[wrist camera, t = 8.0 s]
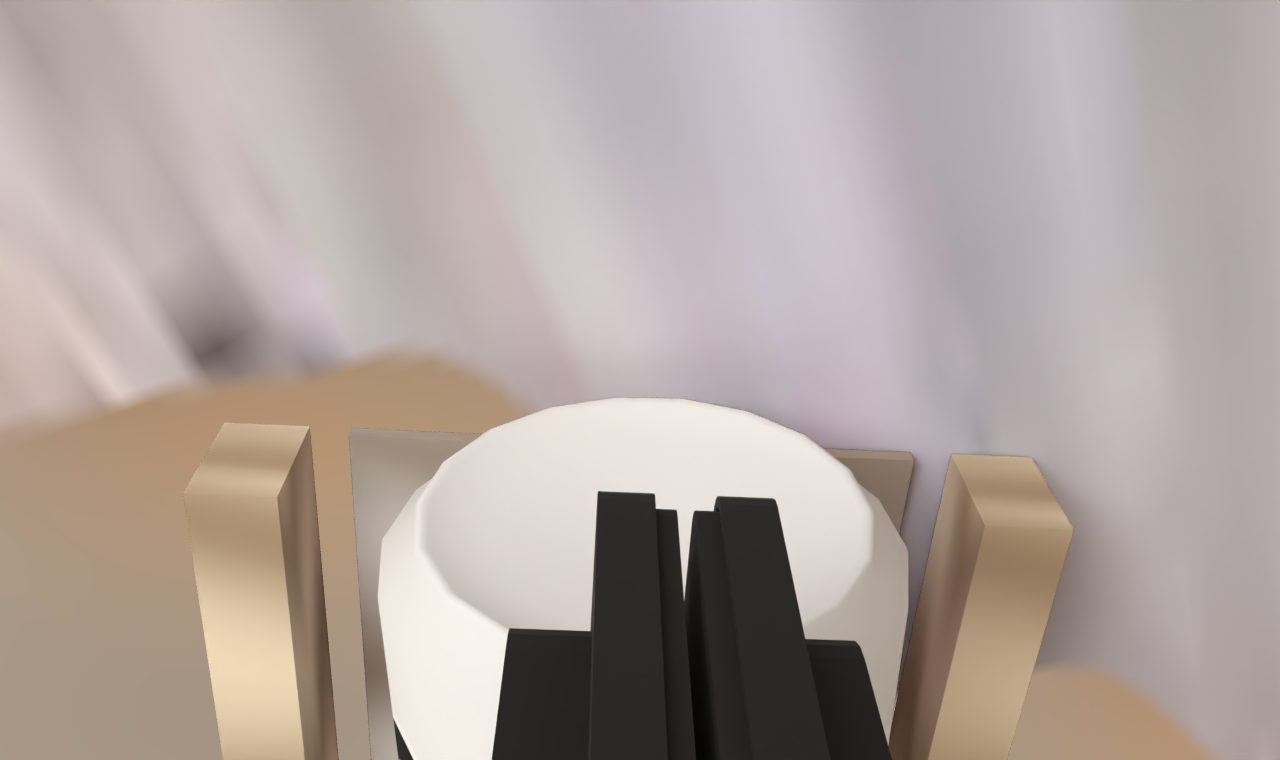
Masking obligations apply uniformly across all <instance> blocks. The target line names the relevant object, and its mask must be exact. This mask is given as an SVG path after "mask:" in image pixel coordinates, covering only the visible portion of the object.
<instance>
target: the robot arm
mask: <svg viewBox="0 0 1280 760" xmlns="http://www.w3.org/2000/svg"><path fill="white" fill-rule="evenodd" d="M492 760H892V758H891V754H890V750H889V747H888V743H887V739H886V736H885V732H884V728H883V725H882V721H881V717H880V713H879V710H878V706H877V702H876V699H875V695H874V691H873V687H872V684H871V680H870V676H869V673H868V669H867V665H866V661H865V658H864V655H863V653H862V650H861V647H860V646H859V644H858V643H857V642H856V641H849V640H822V639H805V635H804V630H803V625H802V620H801V616H800V611H799V606H798V601H797V596H796V592H795V587H794V582H793V577H792V572H791V568H790V563H789V558H788V553H787V549H786V544H785V539H784V534H783V529H782V525H781V520H780V515H779V510H778V506H777V503H776V500H775V499H774V498H753V497H729V496H717V498H716V501H715V505H714V511H697V510H695V511H694V513H693V518H692V527H691V537H690V547H689V557H688V567H687V577H686V587H685V597H684V593H683V580H682V567H681V554H680V541H679V527H678V515H677V510H673V509H656V501H655V494H654V493H632V492H608V491H598V495H597V512H596V532H595V551H594V571H593V590H592V610H591V629H590V631H572V630H545V629H517V628H509V632H508V636H507V643H506V650H505V658H504V666H503V674H502V682H501V690H500V698H499V706H498V713H497V721H496V729H495V737H494V745H493V753H492Z"/></svg>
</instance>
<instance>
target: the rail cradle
mask: <svg viewBox="0 0 1280 760" xmlns="http://www.w3.org/2000/svg"><path fill="white" fill-rule="evenodd" d="M481 435H482V434H475V433H453V432H430V431H429V432H428V431H405V430H383V429H359V428H352V429H351V432H350V434H349V446H350V462H351V476H352V490H353V506H354V520H355V535H356V548H357V549H356V550H357V564H358V579H359V592H360V608H361V623H362V636H363V650H364V651H363V652H364V666H365V681H366V695H367V710H368V725H369V738H370V754H371V760H398V752H397V744H396V736H395V729H394V721H393V713H392V705H391V698H390V690H389V682H388V674H387V667H386V659H385V651H384V643H383V636H382V628H381V620H380V612H379V604H378V586H379V573H380V560H381V548H382V539H383V538H384V536H385V535H386V533H387V532H388V530H389V529H390V527H391V526H392V524H393V523H394V521H395V520H396V518H397V517H398V515H399V514H400V512H401V511H402V509H403V508H404V506H405V505H406V504H407V502H408V501H409V499H410V498H411V496H412V495H413V493H414V492H415V490H416V489H418V488H419V487H421V486H422V485H423V484H425V483H426V482H428V481H429V480H431V479H432V478H433V477H434V475H435V474H436V472H437V471H438V469H439V468H440V466H441V464H442V463H443V462H444V461H445V460H447V459H448V458H450V457H451V456H452V455H454V454H455V453H457V452H458V451H460V450H461V449H462V448H464V447H465V446H467V445H468V444H470V443H471V442H472V441H474V440H475V439H477V438H478V437H480V436H481ZM823 449H824V448H823ZM825 450H826V451H827V452H828V453H830V454H831V455H832V456H834V457H835V458H836V459H837V460H839V461H840V462H841V463H843V464H844V465H845V466H846V467H848V468H849V469H850V470H851V471H852V473H853V475H854V477H855V479H856V480H857V482H858V483H859V484H860V485H861V486H862V487H864V488H865V489H866V490H867V491H869V492H870V493H871V494H873V495H874V496H875V497H876V498H878V499H879V501H880V503H881V504H882V506H883V508H884V509H885V511H886V513H887V515H888V516H889V518H890V520H891V521H892V523H893V525H894V527H895V528H896V530H897V532H898V533H899V532H900V527H901V522H902V517H903V513H904V508H905V503H906V498H907V493H908V488H909V483H910V478H911V473H912V468H913V463H914V459H913V457H912V454H911V452H893V451H870V450H847V449H825ZM314 483H315V482H314V471H313V459H312V447H311V436H310V426H291V425H267V424H243V423H224V425H223V426H222V428H221V430H220V431H219V433H218V435H217V437H216V438H215V440H214V442H213V443H212V445H211V447H210V448H209V450H208V452H207V453H206V455H205V457H204V459H203V460H202V462H201V464H200V465H199V467H198V469H197V470H196V472H195V474H194V475H193V478H192V479H191V481H190V482H189V484H188V486H187V487H186V489H185V491H184V492H183V497H184V504H185V510H186V517H187V523H188V530H189V537H190V543H191V550H192V556H193V563H194V570H195V576H196V583H197V589H198V596H199V603H200V609H201V615H202V622H203V629H204V636H205V642H206V648H207V656H208V662H209V668H210V675H211V681H212V688H213V695H214V702H215V708H216V715H217V722H218V728H219V735H220V741H221V748H222V754H223V760H339V759H338V748H337V736H336V725H335V713H334V702H333V690H332V679H331V668H330V656H329V644H328V633H327V622H326V609H325V598H324V586H323V575H322V563H321V553H320V552H321V551H320V540H319V530H318V529H319V528H318V517H317V505H316V494H315V484H314ZM1073 531H1074V529H1073V527H1072V525H1071V524H1070V522H1069V520H1068V518H1067V517H1066V515H1065V513H1064V512H1063V510H1062V508H1061V507H1060V505H1059V503H1058V501H1057V500H1056V498H1055V496H1054V495H1053V493H1052V491H1051V490H1050V488H1049V486H1048V484H1047V483H1046V481H1045V479H1044V478H1043V476H1042V474H1041V472H1040V471H1039V469H1038V467H1037V466H1036V464H1035V462H1034V461H1033V459H1032V457H1009V456H986V455H963V454H951V457H950V461H949V466H948V470H947V475H946V479H945V484H944V488H943V493H942V498H941V502H940V507H939V511H938V516H937V520H936V525H935V529H934V534H933V539H932V543H931V548H930V552H929V557H928V561H927V566H926V570H925V575H924V579H923V584H922V589H921V593H920V598H919V602H918V607H917V611H916V616H915V620H914V625H913V630H912V634H911V639H910V643H909V648H908V652H907V657H906V661H905V666H904V670H903V675H902V680H901V684H900V689H899V693H898V698H897V702H896V707H895V711H894V716H893V721H892V725H891V731H890V738H889V745H888V747H889V750H890V754H891V758H892V760H1007V759H1008V756H1009V752H1010V749H1011V745H1012V742H1013V738H1014V735H1015V732H1016V728H1017V724H1018V721H1019V718H1020V714H1021V711H1022V707H1023V704H1024V700H1025V697H1026V694H1027V690H1028V686H1029V683H1030V680H1031V676H1032V673H1033V669H1034V666H1035V662H1036V659H1037V656H1038V652H1039V649H1040V645H1041V642H1042V638H1043V635H1044V631H1045V628H1046V624H1047V621H1048V617H1049V614H1050V611H1051V607H1052V604H1053V600H1054V597H1055V593H1056V590H1057V586H1058V583H1059V579H1060V576H1061V573H1062V569H1063V566H1064V562H1065V559H1066V555H1067V552H1068V548H1069V545H1070V541H1071V538H1072V534H1073Z"/></svg>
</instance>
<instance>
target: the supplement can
mask: <svg viewBox="0 0 1280 760" xmlns="http://www.w3.org/2000/svg"><path fill="white" fill-rule="evenodd" d="M598 491H608V492H632V493H654V494H655V501H656V509H673V510H677V515H678V527H679V541H680V554H681V567H682V580H683V593H684V597H685V587H686V577H687V567H688V557H689V547H690V537H691V527H692V518H693V513H694V511H695V510H697V511H714V505H715V501H716V498H717V496H729V497H753V498H774V499H775V500H776V503H777V506H778V510H779V515H780V520H781V525H782V529H783V534H784V539H785V544H786V549H787V553H788V558H789V563H790V568H791V572H792V577H793V582H794V587H795V592H796V596H797V601H798V606H799V611H800V616H801V620H802V625H803V630H804V635H805V639H822V640H849V641H856V642H857V643H858V644H859V646H860V647H861V650H862V653H863V655H864V658H865V661H866V665H867V669H868V673H869V676H870V680H871V684H872V687H873V691H874V695H875V699H876V702H877V706H878V710H879V713H880V717H881V721H882V725H883V728H884V732H885V736H886V739H887V743H888V745H889V738H890V731H891V724H892V717H893V711H894V704H895V697H896V690H897V683H898V676H899V670H900V663H901V656H902V649H903V642H904V635H905V628H906V622H907V615H908V549H907V547H906V545H905V544H904V542H903V540H902V539H901V537H900V535H899V533H898V532H897V530H896V528H895V527H894V525H893V523H892V521H891V520H890V518H889V516H888V515H887V513H886V511H885V509H884V508H883V506H882V504H881V503H880V501H879V499H878V498H876V497H875V496H874V495H873V494H871V493H870V492H869V491H867V490H866V489H865V488H864V487H862V486H861V485H860V484H859V483H858V482H857V480H856V479H855V477H854V475H853V473H852V471H851V470H850V469H849V468H848V467H846V466H845V465H844V464H843V463H841V462H840V461H839V460H837V459H836V458H835V457H834V456H832V455H831V454H830V453H828V452H827V451H826V450H825V449H823V448H822V447H821V446H819V445H818V444H817V443H816V442H814V441H813V440H812V439H810V438H809V437H808V436H807V435H804V434H802V433H800V432H797V431H795V430H792V429H790V428H788V427H785V426H783V425H780V424H778V423H776V422H773V421H771V420H768V419H766V418H764V417H761V416H759V415H756V414H754V413H752V412H749V411H745V410H740V409H735V408H729V407H724V406H719V405H714V404H709V403H704V402H699V401H694V400H688V399H683V398H630V397H613V398H607V399H600V400H594V401H588V402H581V403H575V404H569V405H562V406H556V407H549V408H546V409H544V410H541V411H538V412H536V413H533V414H530V415H527V416H525V417H522V418H519V419H517V420H514V421H511V422H508V423H506V424H503V425H501V426H498V427H495V428H492V429H490V430H488V431H487V432H485V433H484V434H482V435H481V436H480V437H478V438H477V439H475V440H474V441H472V442H471V443H470V444H468V445H467V446H465V447H464V448H462V449H461V450H460V451H458V452H457V453H455V454H454V455H452V456H451V457H450V458H448V459H447V460H445V461H444V462H443V463H442V464H441V466H440V468H439V469H438V471H437V472H436V474H435V475H434V477H433V478H432V479H431V480H429V481H428V482H426V483H425V484H423V485H422V486H421V487H419V488H418V489H416V490H415V492H414V493H413V495H412V496H411V498H410V499H409V501H408V502H407V504H406V505H405V506H404V508H403V509H402V511H401V512H400V514H399V515H398V517H397V518H396V520H395V521H394V523H393V524H392V526H391V527H390V529H389V530H388V532H387V533H386V535H385V536H384V538H383V539H382V548H381V560H380V573H379V586H378V604H379V612H380V620H381V628H382V636H383V643H384V651H385V659H386V667H387V674H388V682H389V690H390V698H391V705H392V713H393V721H394V729H395V736H396V744H397V752H398V760H492V753H493V745H494V737H495V729H496V721H497V713H498V706H499V698H500V690H501V682H502V674H503V666H504V658H505V650H506V643H507V636H508V632H509V628H517V629H545V630H572V631H590V629H591V610H592V590H593V571H594V551H595V532H596V512H597V495H598Z"/></svg>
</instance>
